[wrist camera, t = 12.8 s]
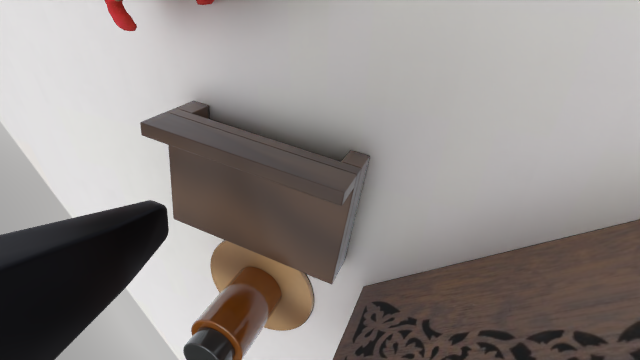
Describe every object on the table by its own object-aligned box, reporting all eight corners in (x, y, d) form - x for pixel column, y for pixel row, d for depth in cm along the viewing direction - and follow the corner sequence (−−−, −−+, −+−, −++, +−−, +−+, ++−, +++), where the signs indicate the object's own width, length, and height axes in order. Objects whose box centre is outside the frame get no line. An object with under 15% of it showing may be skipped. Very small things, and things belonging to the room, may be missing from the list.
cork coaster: (305, 342, 31) (303, 347, 31) (213, 299, 33) (210, 302, 33) (322, 262, 26) (320, 266, 26) (213, 218, 28) (210, 221, 28)
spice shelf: (344, 260, 25) (319, 307, 22) (196, 201, 28) (152, 234, 25) (370, 155, 21) (344, 192, 18) (193, 100, 24) (139, 121, 21)
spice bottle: (279, 314, 30) (229, 393, 24) (236, 294, 31) (177, 366, 25) (284, 278, 28) (230, 356, 22) (237, 258, 29) (174, 327, 23)
